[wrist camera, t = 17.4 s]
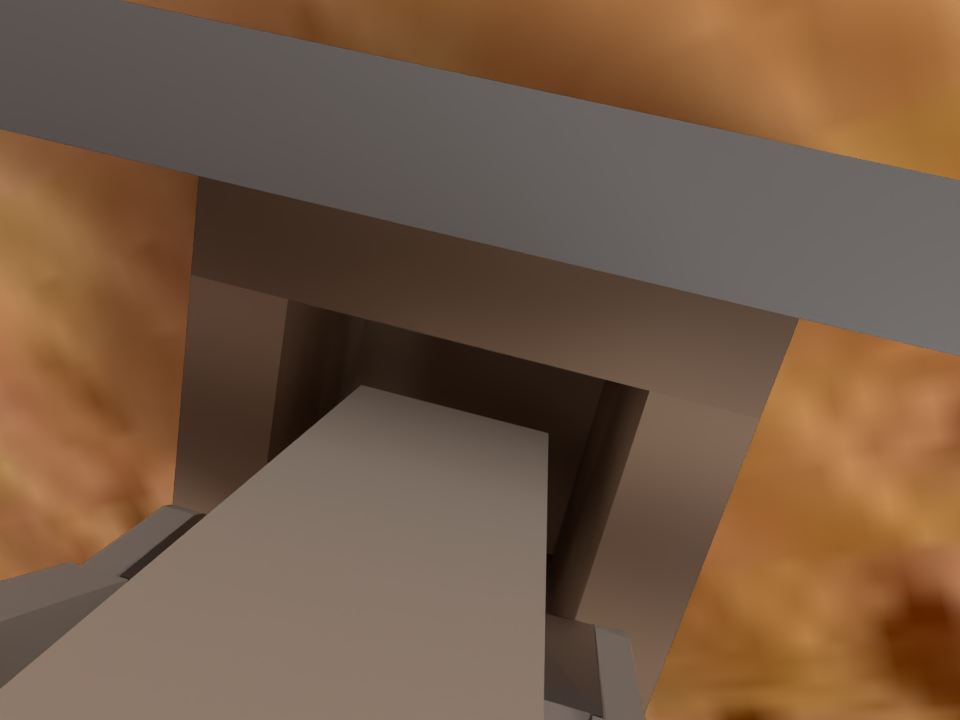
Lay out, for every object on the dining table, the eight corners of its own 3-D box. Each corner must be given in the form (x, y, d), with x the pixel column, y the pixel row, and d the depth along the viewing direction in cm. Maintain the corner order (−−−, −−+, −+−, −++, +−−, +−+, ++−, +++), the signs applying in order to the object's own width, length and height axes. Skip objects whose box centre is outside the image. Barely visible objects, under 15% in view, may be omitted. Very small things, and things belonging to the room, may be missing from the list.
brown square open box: (596, 604, 18) (616, 785, 12) (283, 515, 19) (161, 645, 13) (706, 278, 15) (802, 311, 9) (329, 189, 16) (199, 168, 10)
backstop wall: (881, 318, 14) (1259, 427, 7) (183, 155, 16) (-171, 87, 8) (913, 243, 14) (1365, 267, 6) (188, 81, 15) (-185, -66, 8)
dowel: (548, 433, 11) (523, 1887, 1) (503, 595, 12) (312, 2051, 2) (361, 384, 11) (-744, 1317, 2) (333, 547, 12) (-442, 1693, 3)
